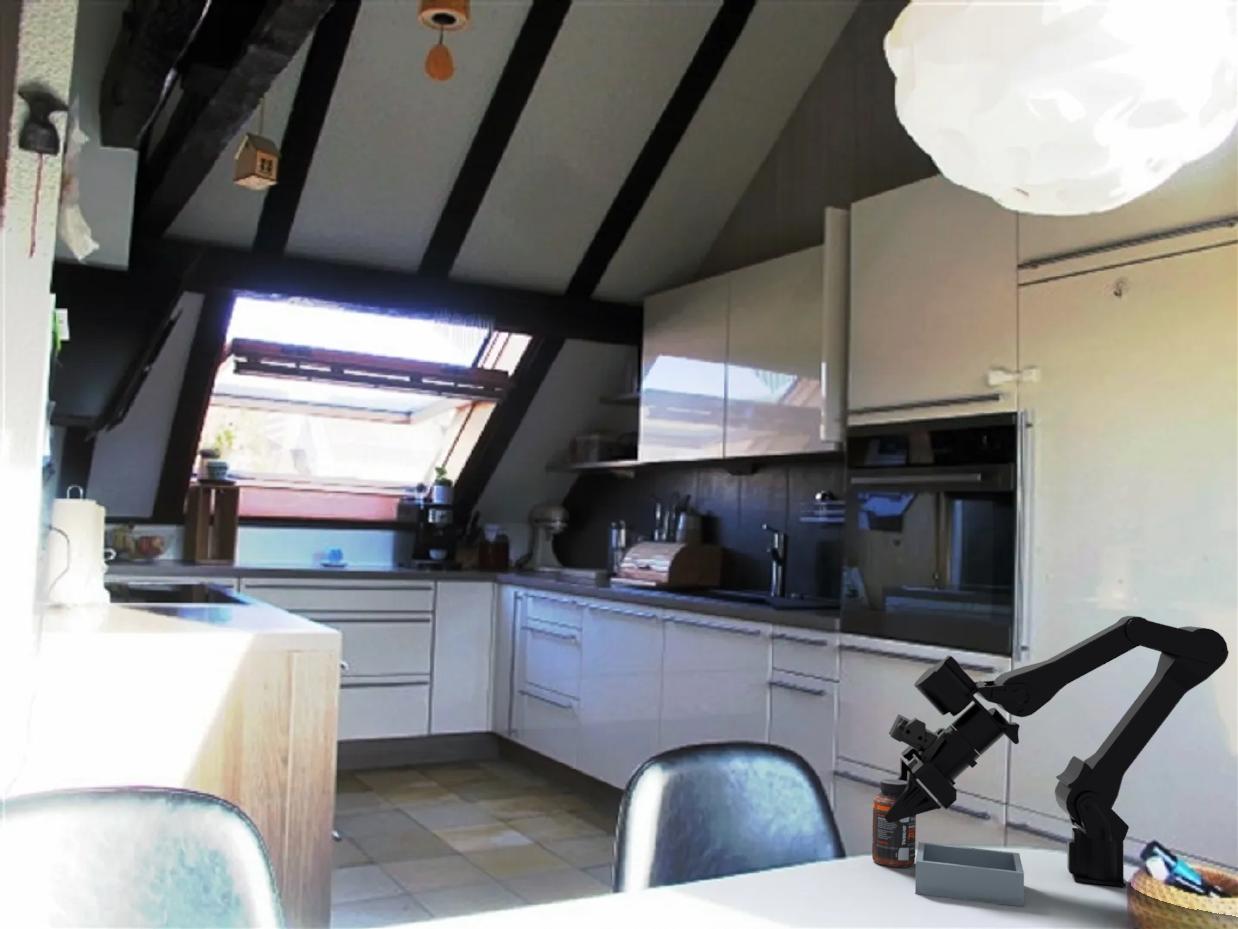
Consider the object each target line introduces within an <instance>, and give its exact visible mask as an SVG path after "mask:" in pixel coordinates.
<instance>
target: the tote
mask: <svg viewBox="0 0 1238 929" xmlns="http://www.w3.org/2000/svg"><path fill="white" fill-rule="evenodd" d="M1023 867H1024V866H1023V864H1022V859H1021V854H1020V852H1013V851H1011V852H1010V851H1001V850H994V849H985V848H984V849H983V848H976V847H967V846H959V845H958V846H957V845H947V844H939V843H930V842H922V841H921V842H920V841H918V844H917V852H916V856H915V883H914V884H915V891H914V892H915V894H917V895H924V896H925V895H926V896H933V897H940V898H949V899H950V898H951V899H958V900H966V901H973V902H974V901H975V902H982V903H990V904H997V905H998V904H999V905H1005V906H1014V907H1023V908H1024V907H1025V905H1024V904H1025V902H1024V900H1025V872H1024V868H1023Z"/></svg>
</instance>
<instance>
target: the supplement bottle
mask: <svg viewBox="0 0 1238 929" xmlns="http://www.w3.org/2000/svg"><path fill="white" fill-rule="evenodd" d="M879 786H880V787H879V789H880V791H881V792H879V793H878V794H877V795H875V796H874V798H873V799H872V800H873V803H872V835H871V837H872V838H871V840H872V841H871V842H872V843H871V845H872V846H871V847H872V848H871V857H872V860H873V861H874V862H876V863H877V864H879V865H881V866H886V867H892V868H908V867H909V868H910V867H912V866H914V864H916V841H917V840H916V836H917V835H916V830H917V828H916V827H917V826H916V825H917V824H916V823H917V815H914V816H911V817H907V818H904V819H901V820H898V821H895V822H892V823H888V822H887V821H886V819H885V818H884V816H885V814H886V813H887V812H888V810H889V809H890V808H891V806H892V805H893V804H894V802H895V801H896V800H897V799H898V797H899V796H900V795H901V794H902V792H903V791H904V790H905V788H906V787H907V781H903V780H897V779H893V778H884V779H881V780H880V785H879Z"/></svg>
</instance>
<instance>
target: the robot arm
mask: <svg viewBox="0 0 1238 929" xmlns="http://www.w3.org/2000/svg"><path fill="white" fill-rule="evenodd" d="M1137 647H1144V648H1146V649H1150V650H1154V651H1155V652H1160V655H1159V657H1158V662H1157V667H1156V670H1155V672H1154V675H1153V676H1152V678H1150V681H1149V682H1148V683H1147V684H1146V685H1145V687H1144V688H1143V689H1142V691H1141V692H1140V694H1139V695H1138V696H1137V698H1136V699H1135V700H1134V702H1133V703H1132V704H1131V706H1130V707H1129V708H1128V709H1127V711H1126V712H1125V713H1124V714H1123V715H1122V717H1121V718H1120V719H1119V721H1118V723H1116V725H1114V726H1115V727H1114V728H1113V729H1112V730H1111V731H1110V733H1109V734H1108V736H1107V737H1106V739H1105V740H1104V741H1103V742H1102V744H1101V745H1100V746H1099V748H1098V749H1097V750H1096V752H1095V753H1093V754H1092V755H1090V756H1089V757H1088V758H1085V760H1083V759H1081V758H1079V757H1077V756H1075V755H1073V756H1072V758H1071V759H1070V760H1069V762H1068V764H1067V766H1066V768H1065V769H1064V770H1063V771H1062V772H1061V773H1060V774H1058V775H1057V776H1055V778H1056V779H1057V781H1058V782H1057V784H1056V786H1055V789H1054V795H1055V801H1056V802H1057V803H1056V804H1057V805H1058V807H1059V808H1060V809H1061V810H1062V811H1063V812H1064V813H1066V814H1067V816H1068V817H1069V820H1070V823H1071V825H1073V826H1074V827H1071V838H1068V839H1067V840H1066V842H1067V847H1066V848H1067V849H1066V850H1067V852H1066V853H1067V854H1066V855H1067V856H1066V857H1067V859H1066V860H1067V865H1066V866H1067V870H1068V873H1069V874H1071V876H1072V879H1073V881H1075V882H1079V883H1081V882H1082V883H1087V884H1088V883H1089V884H1097V885H1106V886H1107V885H1108V886H1114V887H1125V888H1126V887H1127V882H1126V881H1125V877H1124V876H1125V874H1124V871H1125V870H1124V869H1125V867H1124V866H1125V865H1124V864H1125V863H1124V856H1125V855H1124V847H1125V846H1124V842H1125V839H1126V837H1127V834H1128V832H1129V828H1130V827H1129V825H1128V824H1127V823H1126V822H1125V821H1124V819H1123V818H1121V817H1120V816H1119V814H1118V813H1116V811H1114V809H1112V808H1113V807H1114V805H1115V802H1116V801H1117V799H1118V797H1119V793H1120V790H1121V786H1122V782H1123V779H1124V776H1125V773H1127V771H1128V770H1129V768H1130V767H1131V766H1132V765H1133V763H1134V761H1135V760H1136V759H1137V758H1138V757H1139V755H1140V753H1141V752H1143V750H1144V749H1145V747H1146V746H1147V744H1148V743H1149V742H1150V741H1151V739H1152V738H1153V736H1155V734H1156V733H1157V731H1158V730H1159V729H1160V727H1161V726H1162V725H1163V723H1165V721H1166V719H1167V718H1168V717H1169V716H1170V714H1171V713H1172V711H1173V710H1174V709H1175V708H1176V707H1177V705H1178V704H1179V703H1180V701H1181V700H1182V698H1183V697H1184V696H1185V695H1186V694H1187V693H1188V692H1189V691H1190V690H1193V689H1194V688H1196V687H1197V686H1199V685H1200V684H1201V683H1203V682H1205V681H1206V680H1208V679H1209V678H1210V677H1211V676H1212V675H1213V674H1214V673H1216V672H1217V671H1218V670H1219V669H1220V668H1221V667H1222V666H1223V665H1224V664H1225V663H1226V661H1227V659H1228V657H1229V652H1230V651H1229V649H1228V644H1227V641H1226V640H1225V638H1224V637H1223V636H1222V635H1221V633H1219V632H1218V631H1216V630H1214V629H1212V628H1206V627H1200V626H1199V627H1198V626H1188V625H1187V626H1182V627H1175V626H1172V625H1168V624H1163V623H1159V622H1155V621H1151V620H1148V619H1146V618H1145V617H1142V616H1136V615H1126V616H1123V617H1120V619H1119V620H1118V621H1116V622H1115V623H1113V624H1112V625H1109V626H1108V627H1106V628H1104V629H1102V630H1100V631H1098V632H1097V633H1094V634H1093V635H1091V636H1089V637H1087V638H1085V639H1083V640H1082V641H1079V642H1078V643H1077V644H1073V645H1072V646H1070V647H1069V648H1066V649H1065V650H1063V651H1061V652H1060V653H1058V654H1056V655H1054V656H1052V657H1050V658H1048V659H1046V660H1043V661H1040V662H1036V663H1032V664H1029V665H1026V666H1022V667H1018V668H1016V669H1012V670H1010V671H1007V672H1003V673H1001V674H999V675H998V676H997V677H996V678H995V679H993V680H979V681H974V680H973V679H972V678H971V676H969V674H967V672H966V671H964V669H963V668H962V666H960V664H959V662H958V661H957V660H956V658H955V657H953V656H952V655H950V654H949V655H947V656H946V657H945V658H943V659H942V660H940V661H939V662H937V663H935V665H933V666H932V667H929V668H928V669H926V670H925V671H924V672H923V673H922V674H921V675H920V677H918V679H917V680H916V681H915V682H914V684H913V686H914V687H915V689H916V690H917V691H919V692H920V694H921V695H922V696H923V697H924V698H925V699H926V700H927V701H928V702H929V703H930V704H931V706H933V707H934V709H936V711H938V713H939V714H940V715H942V716H945V715H947V714H949V713H950V715H951V716H952V717H956V716H958V715H959V714H960V713H961V712H963V711H964V712H963V713H962V714H960V716H959V717H957V718H956V719H955V720H954V721H953V722H952V723H951V724H950V725H948V727H946V728H945V727H942V728H941V727H939V728H938V729H937V730H936V731H934V732H933V731H932V730H930V729H928V728H926V726H927V725H926V722H924V721H922V720H920V719H918V718H916V717H913V718H912V719H909V718H907V717H906V716H903V715H901V714H899V713H897V716H896V717H895V720H894V722H893V723H892V726H891V728H890V730H889V732H888V734H889V735H890V738H892V739H894V740H896V741H897V742H900V743H904V744H906V745H908V746H907V747H906V748H905V749H904V750H903V751H902V752H901V753H900V754H901V755H902V757H903V758H904V759H905V760H904V759H903V758H902V757H900V758H899V763H900V764H899V766H900V767H899V768H900V770H899V775H898V777H897V778H896V780H903V781H907V787H906V788H905V790H904V791H903V792H902V794H901V795H900V796H899V797H898V799H897V800H896V801H895V802H894V804H893V805H892V806H891V808H890V809H889V810H888V812H887V813H886V814H885V816H884V818H885V819H886V821H887V822H888V823H892V822H895V821H898V820H901V819H904V818H907V817H911V816H914V815H916V816H917V815H920V814H924V813H928V812H931V811H934V810H940V809H941V808H942V806H943V807H944V808H945V809H946V810H947V809H948V808H949V807H951V805H954V803H955V802H956V801H957V795H958V794H957V792H958V791H957V788H955V785H956V782H955V780H956V779H957V778H958V777H959V776H960V775H961V774H963V773H964V772H965V771H966V770H967V769H968V768H969V767H970V768H972V769H973V768H974V767H975V766H976V765H977V764H978V762H977V760H978V759H979V758H980V757H981V756H983V754H984V753H986V752H987V751H988V750H989V749H990V748H991V747H992V746H993V745H995V744H996V743H997V742H998V741H999V740H1000V739H1001V738H1002V737H1004V736H1005V737H1006V738H1007V739H1008V740H1009V741H1010V742H1012V743H1013V744H1014V745H1018V744H1020V737H1019V730H1020V724H1018V723H1017V722H1011V721H1009V720H1007V718H1005V716H1004V715H1003V714H1002V713H1001V712H1000V711H999V710H998V709H997V708H996V707H991V708H988V709H987V708H986V707H985V706H984V705H983V704H982V703H981V702H980V701H979V700H978V699H977V698H976V697H975V695H977V696H978V697H980V698H982V699H983V700H985V701H987V702H989V703H992V704H996V705H997V707H998V708H1000V709H1002V710H1003V711H1005V713H1008V714H1010V715H1011V716H1015V717H1017V718H1018V717H1019V718H1026V717H1029V716H1032V715H1034V714H1035V713H1036V712H1037V711H1039V710H1040V709H1041V708H1042V707H1044V706H1045V705H1046V704H1048V703H1049V702H1050V701H1051V700H1052V699H1053V698H1054V697H1055V696H1056V695H1057V694H1058V693H1059V692H1060V691H1061V690H1062V689H1063V688H1064V687H1066V686H1067V685H1069V684H1071V683H1072V682H1074V681H1076V680H1078V679H1080V678H1082V677H1083V676H1086V675H1088V673H1090V672H1092V671H1094V670H1096V669H1098V668H1100V667H1102V666H1104V665H1106V664H1107V663H1109V662H1111V661H1113V660H1115V659H1116V658H1119V657H1121V656H1122V655H1125V654H1126V653H1128V652H1131V651H1132V650H1134V649H1135V648H1137ZM972 702H973V703H972ZM971 703H972V705H971V706H969V705H970V704H971ZM968 706H969V707H968ZM967 707H968V708H967ZM966 708H967V709H966ZM965 709H966V710H965Z"/></svg>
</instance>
